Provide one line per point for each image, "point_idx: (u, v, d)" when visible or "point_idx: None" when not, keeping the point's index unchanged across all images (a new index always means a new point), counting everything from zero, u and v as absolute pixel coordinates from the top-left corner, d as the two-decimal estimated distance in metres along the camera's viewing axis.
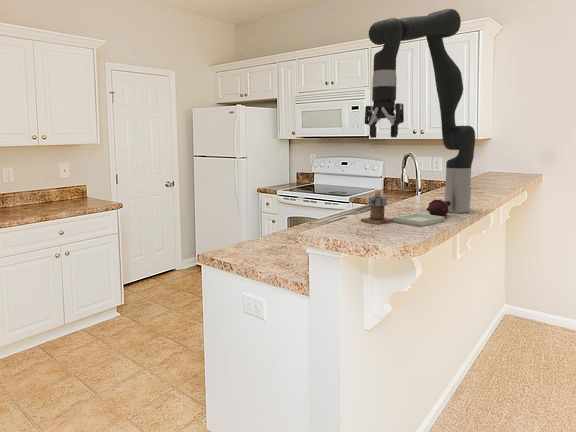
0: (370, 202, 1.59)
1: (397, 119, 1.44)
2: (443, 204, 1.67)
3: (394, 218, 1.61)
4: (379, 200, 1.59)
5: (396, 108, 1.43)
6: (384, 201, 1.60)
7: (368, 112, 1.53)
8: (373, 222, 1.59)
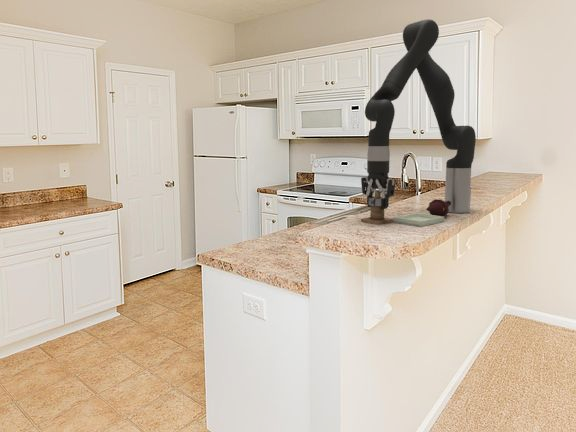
0: (370, 202, 1.59)
1: (388, 193, 1.56)
2: (443, 204, 1.68)
3: (394, 218, 1.61)
4: (379, 200, 1.59)
5: (388, 184, 1.55)
6: None
7: (364, 183, 1.65)
8: (373, 222, 1.59)
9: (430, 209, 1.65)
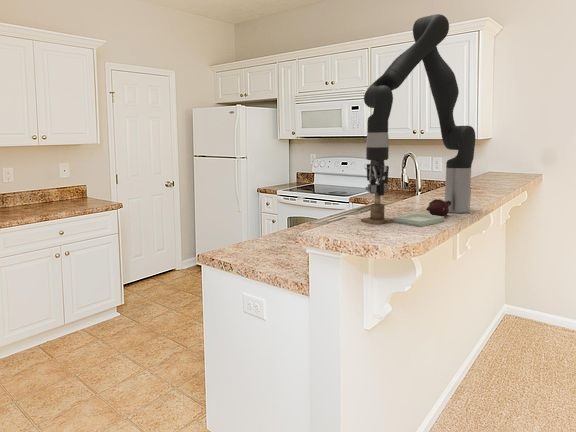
0: (366, 188, 1.61)
1: (380, 180, 1.56)
2: (443, 204, 1.68)
3: (394, 218, 1.61)
4: (374, 187, 1.59)
5: (380, 170, 1.55)
6: None
7: (368, 169, 1.66)
8: (373, 222, 1.59)
9: (430, 209, 1.66)
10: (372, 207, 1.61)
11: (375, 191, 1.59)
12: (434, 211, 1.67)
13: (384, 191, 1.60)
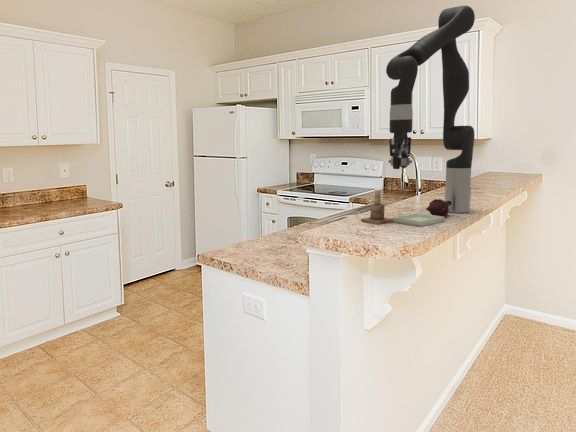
0: None
1: None
2: (443, 204, 1.68)
3: (394, 218, 1.61)
4: (392, 160, 1.59)
5: None
6: None
7: None
8: (373, 222, 1.59)
9: (430, 209, 1.66)
10: (372, 207, 1.61)
11: (392, 164, 1.59)
12: (434, 211, 1.67)
13: (401, 165, 1.57)
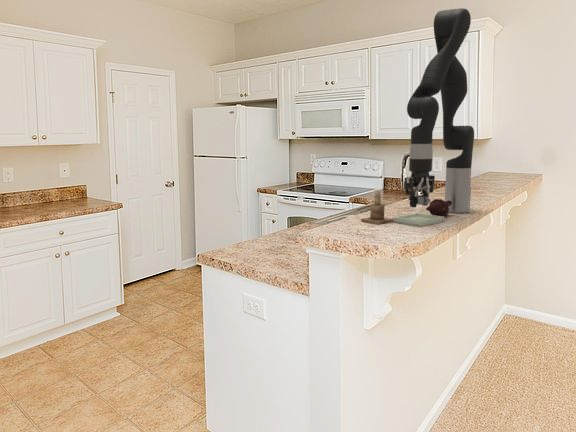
0: None
1: None
2: (443, 204, 1.68)
3: (394, 218, 1.61)
4: None
5: None
6: None
7: None
8: (373, 222, 1.59)
9: (430, 209, 1.66)
10: (372, 207, 1.61)
11: None
12: (434, 211, 1.67)
13: (418, 203, 1.57)
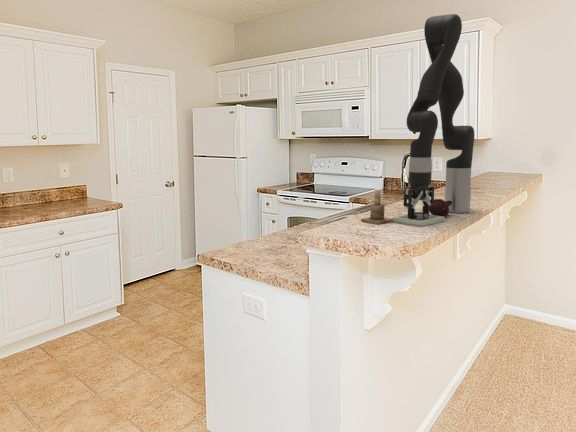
0: None
1: None
2: (443, 203, 1.69)
3: (394, 218, 1.61)
4: None
5: None
6: None
7: None
8: (373, 222, 1.59)
9: (430, 208, 1.67)
10: (372, 207, 1.61)
11: None
12: (434, 211, 1.68)
13: None
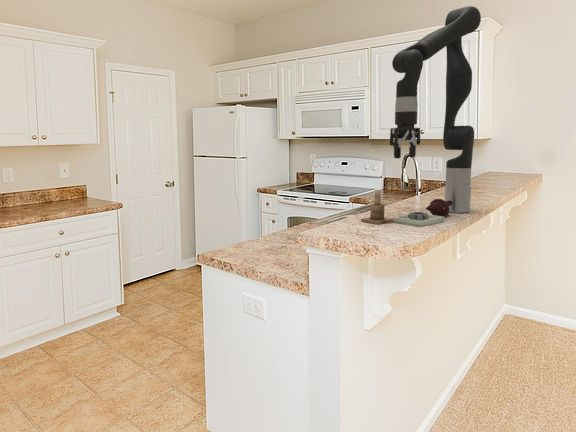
0: None
1: None
2: (443, 203, 1.69)
3: (394, 218, 1.61)
4: (409, 215, 1.61)
5: None
6: (413, 217, 1.59)
7: None
8: (373, 222, 1.59)
9: (430, 208, 1.67)
10: (372, 207, 1.61)
11: None
12: (434, 210, 1.68)
13: None
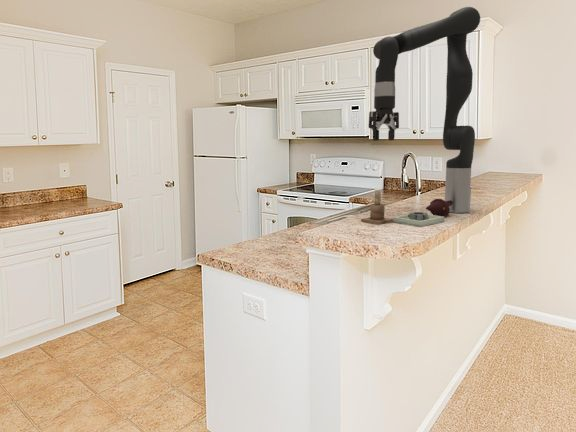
0: None
1: None
2: (443, 203, 1.69)
3: (394, 218, 1.61)
4: (409, 215, 1.61)
5: None
6: (413, 217, 1.59)
7: (392, 118, 1.75)
8: (373, 222, 1.59)
9: (430, 208, 1.67)
10: (372, 207, 1.61)
11: None
12: (434, 210, 1.68)
13: None
